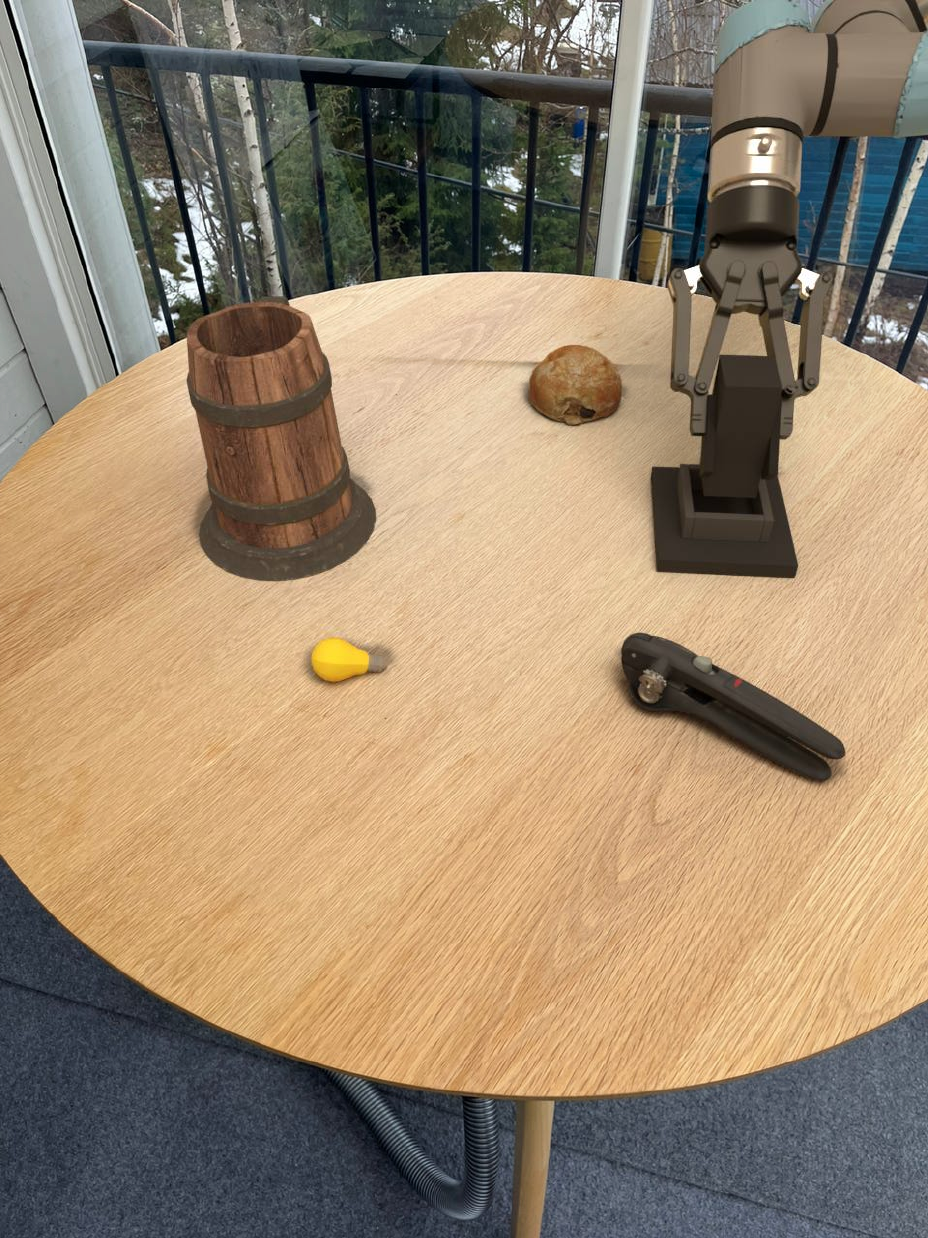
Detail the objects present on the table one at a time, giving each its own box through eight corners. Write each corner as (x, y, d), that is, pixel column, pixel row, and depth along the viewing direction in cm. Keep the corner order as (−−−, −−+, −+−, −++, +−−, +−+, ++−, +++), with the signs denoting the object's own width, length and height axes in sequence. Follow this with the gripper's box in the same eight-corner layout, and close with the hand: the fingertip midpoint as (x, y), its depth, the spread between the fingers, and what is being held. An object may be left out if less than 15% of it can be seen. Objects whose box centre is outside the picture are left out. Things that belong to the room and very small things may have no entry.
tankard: (370, 578, 84) (344, 378, 70) (182, 583, 84) (119, 384, 70) (384, 431, 101) (366, 246, 87) (227, 435, 101) (183, 252, 87)
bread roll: (535, 450, 104) (546, 409, 96) (515, 372, 107) (524, 327, 99) (621, 437, 105) (638, 396, 97) (599, 361, 108) (614, 315, 101)
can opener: (597, 695, 73) (602, 645, 70) (645, 644, 77) (653, 594, 73) (810, 816, 65) (830, 767, 61) (852, 753, 69) (873, 703, 65)
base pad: (773, 483, 92) (782, 448, 90) (795, 578, 82) (805, 543, 80) (650, 478, 93) (655, 444, 91) (656, 572, 83) (662, 537, 81)
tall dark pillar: (749, 464, 86) (774, 355, 78) (755, 498, 82) (782, 387, 75) (699, 462, 86) (719, 354, 79) (703, 496, 83) (725, 385, 75)
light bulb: (307, 666, 76) (313, 627, 75) (380, 673, 78) (387, 635, 76) (309, 687, 73) (315, 647, 72) (384, 694, 75) (392, 655, 73)
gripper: (652, 178, 76) (637, 464, 76) (875, 181, 75) (859, 473, 75) (643, 218, 84) (629, 478, 84) (845, 221, 82) (831, 486, 82)
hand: (737, 475), depth 79 cm, fingers closed on tall dark pillar, 4 cm apart
